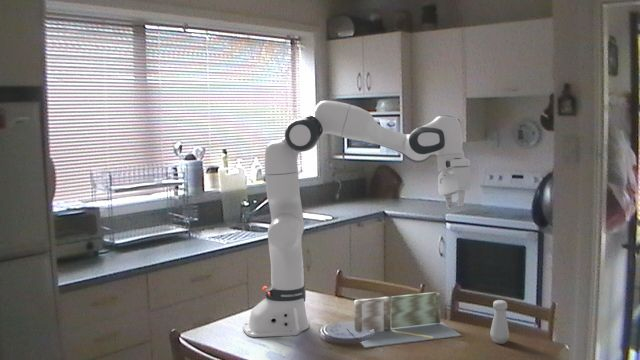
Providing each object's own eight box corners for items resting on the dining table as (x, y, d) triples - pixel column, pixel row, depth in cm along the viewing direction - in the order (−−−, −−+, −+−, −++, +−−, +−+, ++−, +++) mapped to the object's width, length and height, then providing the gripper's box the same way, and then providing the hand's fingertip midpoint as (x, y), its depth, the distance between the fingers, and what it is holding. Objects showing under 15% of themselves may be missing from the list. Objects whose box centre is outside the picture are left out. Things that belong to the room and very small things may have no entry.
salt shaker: (499, 345, 189) (499, 304, 188) (486, 340, 194) (486, 300, 193) (513, 342, 192) (513, 302, 191) (499, 336, 197) (500, 297, 196)
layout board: (365, 348, 189) (365, 346, 189) (346, 329, 206) (346, 327, 206) (461, 336, 198) (461, 334, 198) (435, 319, 215) (435, 317, 215)
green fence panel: (392, 328, 203) (392, 297, 202) (390, 326, 205) (390, 296, 204) (441, 322, 208) (441, 292, 207) (438, 321, 210) (438, 291, 209)
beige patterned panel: (356, 335, 199) (355, 301, 198) (353, 332, 202) (353, 299, 201) (391, 330, 203) (391, 298, 202) (388, 328, 205) (388, 296, 204)
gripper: (431, 170, 210) (435, 210, 208) (452, 160, 190) (457, 204, 188) (449, 169, 211) (453, 209, 209) (472, 159, 190) (476, 203, 189)
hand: (455, 207), depth 198 cm, fingers open, 8 cm apart
